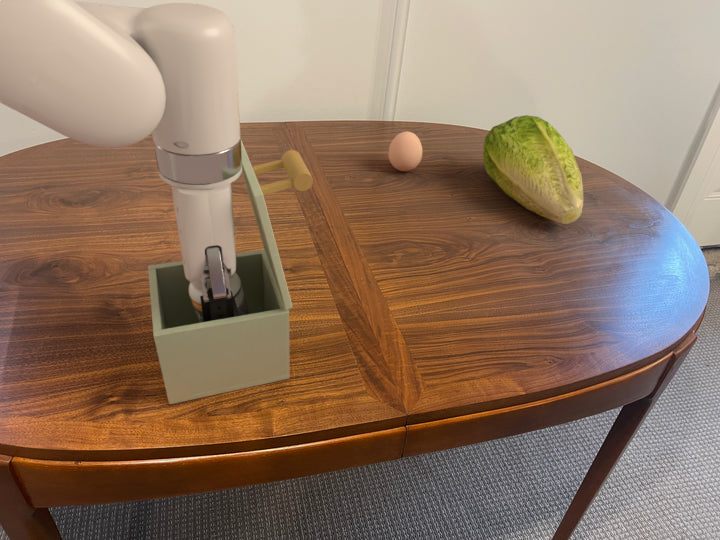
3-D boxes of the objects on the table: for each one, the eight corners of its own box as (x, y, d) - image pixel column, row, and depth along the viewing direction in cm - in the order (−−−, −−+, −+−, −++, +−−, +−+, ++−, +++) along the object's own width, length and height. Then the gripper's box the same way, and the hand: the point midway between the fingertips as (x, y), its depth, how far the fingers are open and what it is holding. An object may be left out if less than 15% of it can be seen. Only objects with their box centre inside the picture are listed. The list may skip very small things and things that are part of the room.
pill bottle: (200, 350, 61) (175, 285, 54) (208, 314, 65) (186, 250, 59) (250, 346, 61) (230, 281, 54) (255, 310, 65) (237, 246, 59)
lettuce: (528, 210, 85) (616, 166, 83) (464, 127, 101) (538, 88, 99) (538, 260, 96) (616, 221, 94) (479, 178, 112) (545, 143, 110)
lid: (254, 196, 47) (319, 178, 48) (232, 139, 55) (288, 125, 56) (285, 310, 56) (339, 293, 57) (263, 246, 65) (310, 232, 66)
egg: (379, 168, 106) (383, 131, 102) (400, 158, 111) (405, 122, 106) (405, 181, 103) (411, 143, 98) (426, 170, 107) (432, 133, 102)
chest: (169, 405, 59) (153, 336, 52) (162, 332, 68) (147, 265, 61) (289, 378, 63) (289, 312, 57) (269, 313, 72) (266, 248, 65)
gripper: (151, 120, 54) (173, 262, 65) (162, 209, 41) (188, 366, 52) (227, 116, 56) (236, 254, 67) (259, 199, 44) (264, 352, 55)
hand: (215, 302), depth 60 cm, fingers closed on pill bottle, 5 cm apart
